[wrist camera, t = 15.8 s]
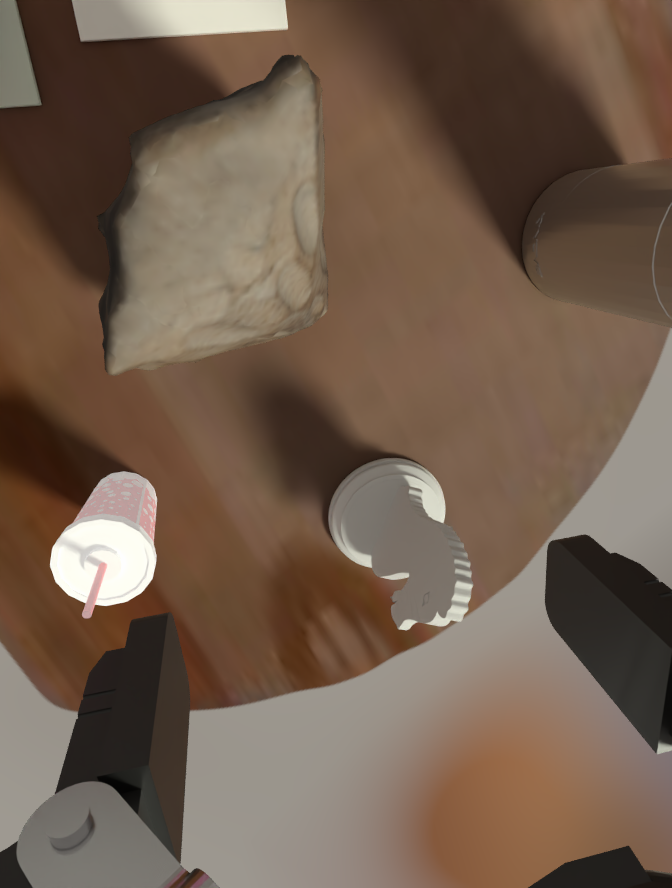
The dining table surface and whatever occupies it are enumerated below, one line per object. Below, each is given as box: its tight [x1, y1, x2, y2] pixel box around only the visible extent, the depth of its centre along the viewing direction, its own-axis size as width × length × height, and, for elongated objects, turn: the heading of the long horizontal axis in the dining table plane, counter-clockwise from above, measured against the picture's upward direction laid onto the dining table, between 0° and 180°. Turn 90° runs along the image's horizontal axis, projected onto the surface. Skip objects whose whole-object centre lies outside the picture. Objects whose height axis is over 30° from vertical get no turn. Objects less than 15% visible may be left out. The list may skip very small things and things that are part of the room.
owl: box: [97, 55, 328, 376], centre depth 30 cm, size 13×13×20 cm
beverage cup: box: [50, 472, 157, 618], centre depth 38 cm, size 6×6×14 cm
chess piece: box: [328, 458, 473, 630], centre depth 42 cm, size 10×10×15 cm
